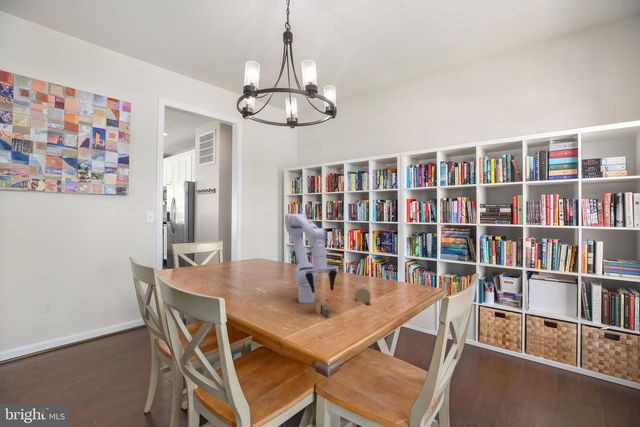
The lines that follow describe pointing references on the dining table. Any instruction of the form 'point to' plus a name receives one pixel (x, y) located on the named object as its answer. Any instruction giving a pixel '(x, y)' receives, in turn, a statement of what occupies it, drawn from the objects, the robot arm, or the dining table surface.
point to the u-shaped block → (322, 303)
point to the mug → (362, 295)
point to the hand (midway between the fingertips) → (322, 291)
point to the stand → (324, 311)
